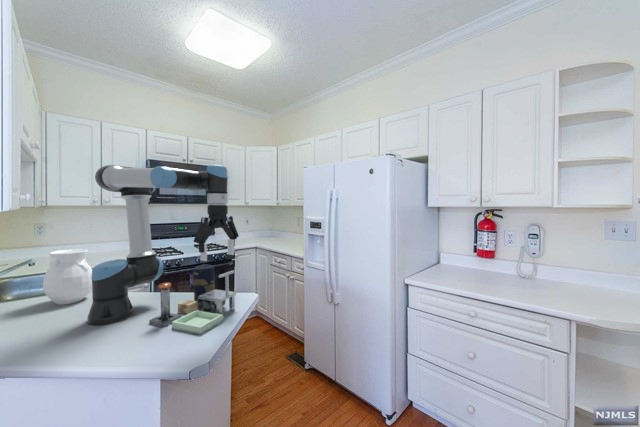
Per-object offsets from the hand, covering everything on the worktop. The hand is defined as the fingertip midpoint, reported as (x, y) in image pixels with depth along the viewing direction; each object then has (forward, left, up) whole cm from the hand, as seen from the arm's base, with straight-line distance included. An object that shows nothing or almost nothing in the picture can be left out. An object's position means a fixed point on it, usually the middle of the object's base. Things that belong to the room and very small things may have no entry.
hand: (218, 257), depth 106 cm
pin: (-21, -7, -26) cm, 34 cm away
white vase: (-86, -6, -26) cm, 90 cm away
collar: (-21, -7, -26) cm, 34 cm away
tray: (-6, -5, -26) cm, 27 cm away
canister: (-24, +17, -26) cm, 39 cm away
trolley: (-8, +8, -26) cm, 28 cm away
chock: (-21, +4, -26) cm, 34 cm away
